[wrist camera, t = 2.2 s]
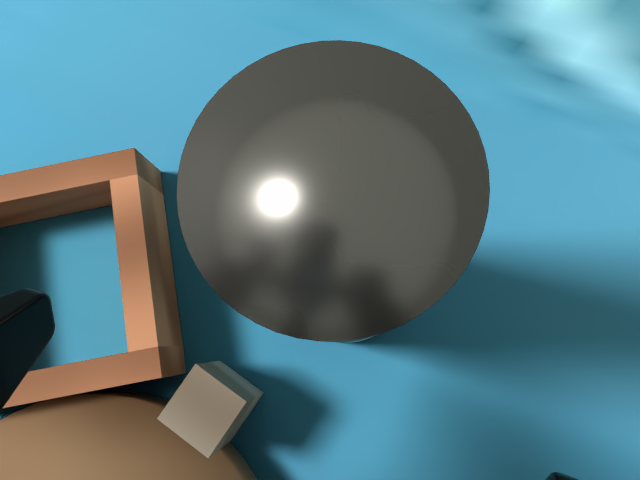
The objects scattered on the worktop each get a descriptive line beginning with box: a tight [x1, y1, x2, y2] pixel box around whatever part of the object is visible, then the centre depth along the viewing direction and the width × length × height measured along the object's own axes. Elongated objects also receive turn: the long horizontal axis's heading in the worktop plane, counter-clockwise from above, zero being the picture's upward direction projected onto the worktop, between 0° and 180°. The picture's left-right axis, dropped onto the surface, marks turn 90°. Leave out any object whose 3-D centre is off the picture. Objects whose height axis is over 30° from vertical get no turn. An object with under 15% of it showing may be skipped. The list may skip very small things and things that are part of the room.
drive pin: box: [177, 40, 490, 343], centre depth 13 cm, size 4×4×13 cm
